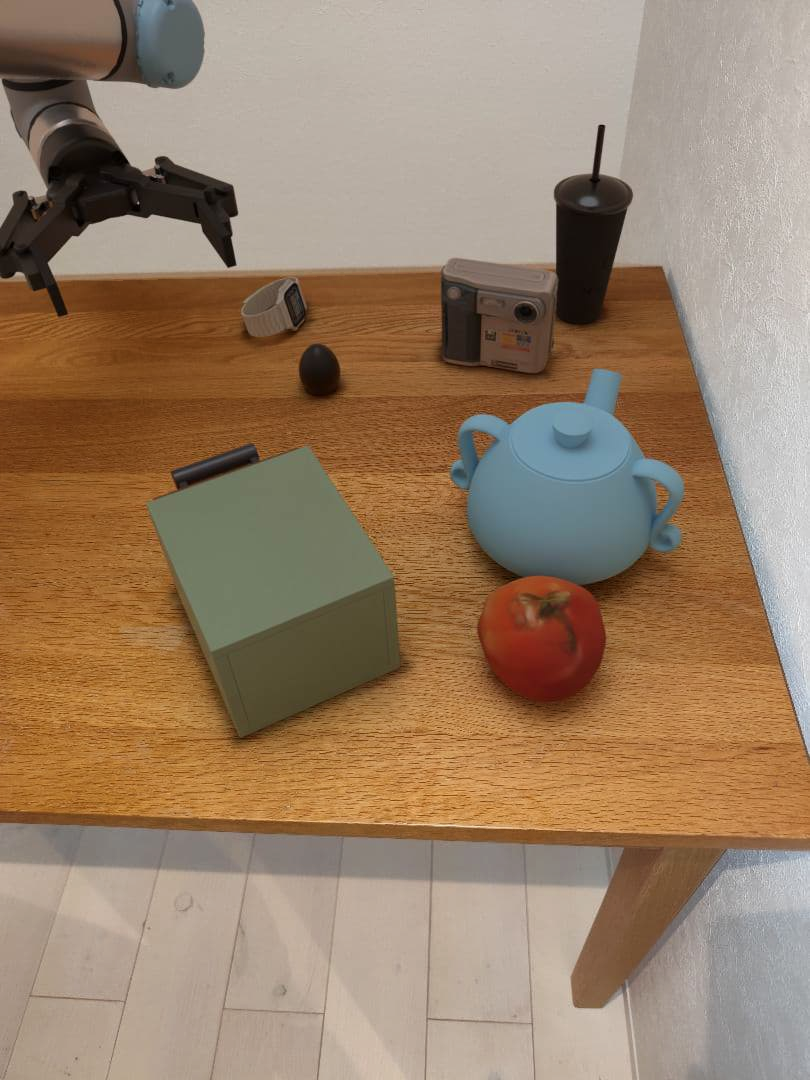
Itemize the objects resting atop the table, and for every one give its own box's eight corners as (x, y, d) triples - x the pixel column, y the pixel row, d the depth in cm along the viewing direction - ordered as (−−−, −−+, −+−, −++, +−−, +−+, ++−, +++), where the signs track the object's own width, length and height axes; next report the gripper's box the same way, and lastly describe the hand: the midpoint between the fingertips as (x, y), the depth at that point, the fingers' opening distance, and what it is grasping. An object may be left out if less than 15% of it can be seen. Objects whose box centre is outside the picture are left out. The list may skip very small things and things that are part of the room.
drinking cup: (529, 318, 97) (545, 132, 82) (563, 284, 101) (583, 102, 86) (593, 340, 94) (621, 151, 79) (625, 305, 98) (657, 119, 83)
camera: (434, 363, 92) (433, 277, 84) (451, 331, 95) (451, 246, 88) (542, 383, 89) (551, 296, 82) (555, 350, 93) (565, 264, 85)
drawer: (161, 535, 76) (133, 458, 69) (287, 488, 79) (273, 410, 72) (234, 702, 64) (210, 629, 58) (378, 640, 68) (371, 564, 61)
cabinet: (178, 595, 73) (145, 502, 64) (322, 539, 76) (308, 444, 68) (240, 738, 64) (210, 652, 56) (400, 667, 67) (394, 576, 59)
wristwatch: (285, 350, 94) (278, 309, 90) (231, 340, 96) (222, 300, 92) (317, 303, 100) (313, 262, 96) (266, 294, 101) (259, 254, 98)
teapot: (413, 560, 74) (408, 447, 65) (501, 416, 86) (508, 303, 77) (647, 640, 68) (680, 528, 59) (707, 473, 80) (742, 358, 70)
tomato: (482, 609, 71) (485, 542, 65) (600, 622, 69) (614, 555, 63) (469, 711, 64) (471, 647, 58) (598, 726, 63) (614, 663, 57)
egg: (296, 397, 89) (289, 356, 85) (308, 372, 92) (302, 331, 88) (335, 402, 88) (330, 361, 84) (346, 377, 91) (342, 335, 87)
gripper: (219, 171, 88) (301, 273, 75) (-42, 238, 81) (-1, 364, 68) (203, 91, 82) (289, 188, 69) (-79, 156, 75) (-41, 277, 62)
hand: (145, 275), depth 69 cm, fingers open, 13 cm apart
